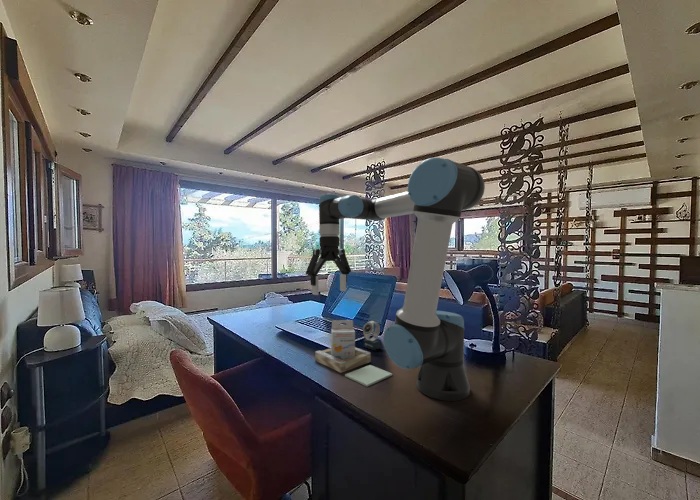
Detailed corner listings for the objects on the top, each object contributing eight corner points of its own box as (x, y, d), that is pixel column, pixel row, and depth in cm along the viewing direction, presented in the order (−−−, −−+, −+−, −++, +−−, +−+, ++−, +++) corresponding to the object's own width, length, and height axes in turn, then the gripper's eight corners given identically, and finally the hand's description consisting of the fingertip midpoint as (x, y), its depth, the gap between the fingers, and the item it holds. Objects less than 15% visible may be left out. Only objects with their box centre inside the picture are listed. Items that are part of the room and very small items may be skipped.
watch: (360, 348, 126) (360, 322, 126) (372, 344, 131) (373, 318, 131) (370, 351, 122) (370, 324, 122) (383, 347, 127) (383, 321, 127)
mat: (392, 375, 100) (392, 373, 100) (367, 386, 91) (367, 384, 91) (370, 366, 107) (370, 364, 107) (344, 376, 99) (344, 374, 99)
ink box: (331, 364, 108) (332, 323, 108) (330, 359, 113) (331, 320, 113) (355, 363, 110) (355, 323, 109) (353, 358, 114) (353, 319, 114)
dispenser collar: (370, 361, 111) (370, 352, 111) (341, 372, 101) (341, 362, 101) (344, 351, 122) (344, 343, 122) (315, 360, 112) (315, 351, 112)
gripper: (346, 237, 125) (346, 288, 125) (295, 235, 107) (296, 295, 107) (359, 236, 119) (360, 290, 119) (308, 234, 102) (308, 297, 102)
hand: (329, 292), depth 113 cm, fingers open, 13 cm apart
